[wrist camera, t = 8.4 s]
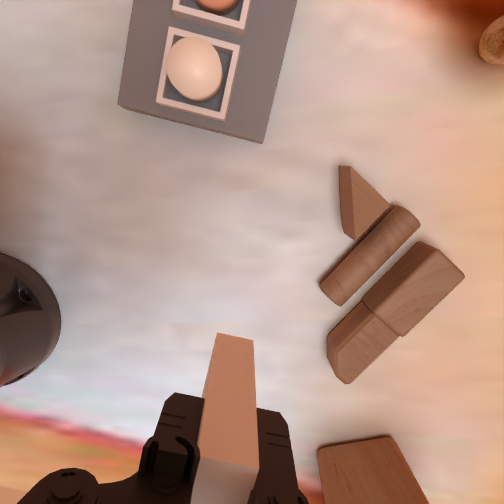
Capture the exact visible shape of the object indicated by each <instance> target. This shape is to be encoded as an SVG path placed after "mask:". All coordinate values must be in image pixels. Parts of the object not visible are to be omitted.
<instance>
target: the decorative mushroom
mask: <svg viewBox="0 0 504 504" xmlns="http://www.w3.org/2000/svg"><path fill="white" fill-rule="evenodd" d="M479 54H480V56H481V57H482V59H483V60H485V61H486V62H488V63H490V64H494V65H501V64H504V15H502V16H501V17H499V18H498V19H496V20H495V21H494V22H492V23H491V24H490V25H489V26H488V27H487V28H486V30H485V31H484V32H483V34H482V36H481V39H480V43H479Z"/></svg>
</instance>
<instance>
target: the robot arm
mask: <svg viewBox="0 0 504 504" xmlns="http://www.w3.org/2000/svg"><path fill="white" fill-rule="evenodd" d="M60 327H61V319H60V312H59V307H58V304H57V301H56V299H55V297H54V295H53V293H52V291H51V289H50V288H49V286H48V285H47V284H46V282H45V281H44V280H43V279H42V278H41V277H40V276H39V275H38V274H37V273H36V272H35V271H34V270H33V269H31V268H30V267H29V266H27V265H26V264H24V263H22V262H21V261H19V260H17V259H15V258H12V257H10V256H7V255H4V254H0V387H2V386H5V385H8V384H11V383H14V382H16V381H19V380H21V379H23V378H24V377H26V376H28V375H29V374H30V373H32V372H33V371H34V370H35V369H37V368H38V367H39V366H40V365H41V364H42V363H43V362H44V361H45V360H46V359H47V358H48V357H49V355H50V354H51V353H52V351H53V350H54V348H55V346H56V344H57V341H58V338H59V334H60ZM289 438H290V435H289V429H288V424H287V423H286V421H285V420H284V418H283V417H282V415H281V413H280V412H275V411H270V410H265V409H260V408H256V389H255V368H254V347H253V340H249V339H244V338H240V337H235V336H231V335H226V334H221V333H217V335H216V339H215V344H214V348H213V352H212V356H211V360H210V364H209V369H208V373H207V377H206V381H205V385H204V389H203V394H202V398H200V397H195V396H190V395H185V394H180V393H174V394H172V395H171V396H170V397H169V398H168V399H167V400H166V401H165V403H164V406H163V409H162V412H161V415H160V418H159V421H158V424H157V427H156V430H155V433H154V436H152V437H151V438H149V439H148V440H147V442H146V443H145V445H144V446H143V451H142V456H141V460H140V465H139V470H138V472H137V473H135V474H134V475H132V476H131V477H129V478H127V479H124V480H122V481H118V482H113V483H104V484H98V482H97V480H96V478H95V477H94V476H93V475H92V474H91V473H89V472H88V471H86V470H82V469H78V468H67V469H60V470H58V471H55V472H52V473H50V474H48V475H47V476H46V477H44V478H43V479H42V480H40V481H39V482H38V483H37V484H36V485H35V486H34V487H33V488H32V489H31V490H30V491H29V492H28V493H27V494H26V495H25V496H24V497H23V498H22V499H21V500H20V501H19V502H18V503H17V504H309V503H308V500H307V498H306V497H305V496H304V494H303V493H302V492H301V491H300V490H299V489H298V484H297V478H296V472H295V465H294V459H293V453H292V449H291V441H290V439H289Z"/></svg>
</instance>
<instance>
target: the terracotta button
mask: <svg viewBox="0 0 504 504" xmlns="http://www.w3.org/2000/svg"><path fill="white" fill-rule="evenodd" d="M195 1H196V3H197V4H198V6H199V7H200V8H201V9H202V10H203V11H205V12H207V13H211V14H215V15H218V16H220V15H225V14H228V13H229V12H231V11H232V10H234V9H235V7H236V6H237V5H238V3H239V2H240V0H195Z"/></svg>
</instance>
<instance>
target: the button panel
mask: <svg viewBox="0 0 504 504" xmlns="http://www.w3.org/2000/svg"><path fill="white" fill-rule="evenodd" d="M296 3H297V0H240V2H239V3H238V5H237V6H236V7H235V9H234V10H232V11H231V12H229V13H228V14H225V15H220V16H218V15H215V14H211V13H207V12H205V11H203V10H202V9H201V8H200V7H199V6H198V4H197V3H196V1H195V0H134V1H133V8H132V14H131V21H130V27H129V33H128V40H127V46H126V53H125V59H124V66H123V72H122V79H121V85H120V92H119V98H118V105H119V106H121V107H123V108H125V109H128V110H132V111H135V112H139V113H143V114H147V115H151V116H155V117H159V118H163V119H167V120H171V121H175V122H179V123H182V124H186V125H190V126H194V127H198V128H202V129H206V130H210V131H214V132H218V133H222V134H226V135H229V136H233V137H237V138H241V139H245V140H249V141H253V142H257V143H261V144H262V143H263V140H264V136H265V132H266V127H267V123H268V119H269V115H270V111H271V107H272V103H273V98H274V94H275V90H276V86H277V82H278V78H279V73H280V69H281V65H282V61H283V57H284V53H285V49H286V44H287V40H288V36H289V32H290V28H291V24H292V19H293V15H294V11H295V7H296ZM186 37H199V38H202V39H204V40H206V41H208V42H209V43H210V44H211V45H212V46H213V47H214V48H215V50H216V51H217V53H218V55H219V58H220V62H221V66H222V71H223V81H222V85H221V88H220V90H219V91H218V93H217V94H216V95H215V96H214V97H213V98H211V99H209V100H207V101H203V102H194V101H191V100H188V99H187V98H185V97H184V96H183V95H181V93H180V92H179V91H178V90H177V89H176V88H175V87H174V86H173V84H172V83H171V81H170V79H169V77H168V75H167V70H166V60H167V56H168V53H169V51H170V49H171V48H172V46H173V45H174V44H175V43H176V42H177V41H179V40H181V39H183V38H186Z"/></svg>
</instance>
